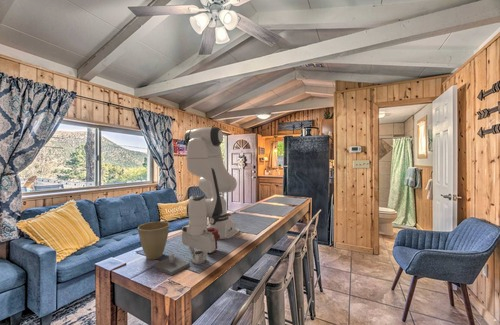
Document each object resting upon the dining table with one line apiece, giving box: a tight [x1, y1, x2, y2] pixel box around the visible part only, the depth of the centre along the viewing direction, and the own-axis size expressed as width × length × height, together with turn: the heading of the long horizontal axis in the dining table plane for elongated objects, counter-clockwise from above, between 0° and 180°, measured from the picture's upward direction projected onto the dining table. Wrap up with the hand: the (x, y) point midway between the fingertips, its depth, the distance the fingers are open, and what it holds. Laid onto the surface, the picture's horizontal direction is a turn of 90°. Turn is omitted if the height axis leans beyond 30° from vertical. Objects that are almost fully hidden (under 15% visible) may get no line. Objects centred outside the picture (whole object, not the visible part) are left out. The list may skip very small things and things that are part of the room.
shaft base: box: [153, 253, 191, 276], centre depth 102 cm, size 10×13×6 cm
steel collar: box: [191, 249, 207, 265], centre depth 108 cm, size 6×6×4 cm
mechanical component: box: [207, 226, 221, 254], centre depth 119 cm, size 12×10×10 cm
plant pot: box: [137, 221, 170, 260], centre depth 114 cm, size 15×15×16 cm
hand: (198, 257), depth 108 cm, fingers closed on steel collar, 6 cm apart
